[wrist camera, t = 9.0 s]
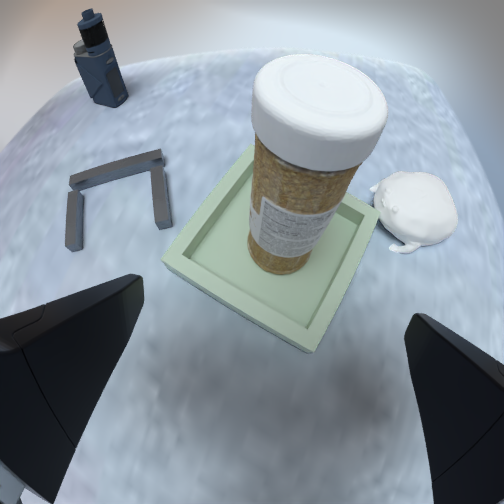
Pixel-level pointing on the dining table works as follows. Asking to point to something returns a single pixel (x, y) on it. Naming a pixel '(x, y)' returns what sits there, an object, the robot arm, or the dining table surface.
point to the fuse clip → (113, 172)
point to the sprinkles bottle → (306, 152)
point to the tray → (258, 280)
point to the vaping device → (98, 62)
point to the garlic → (415, 209)
